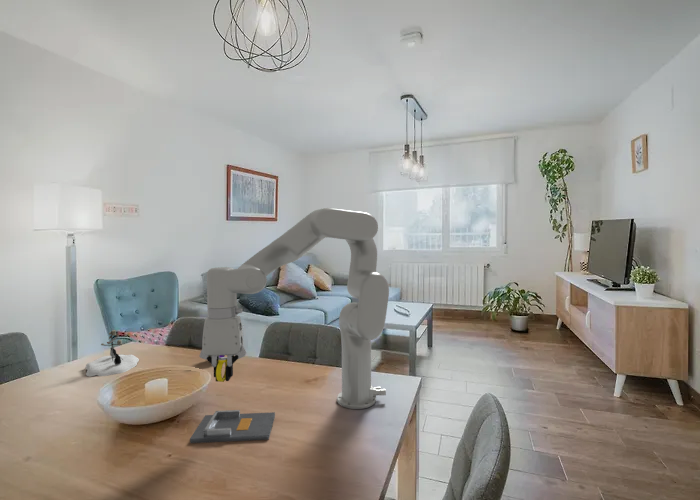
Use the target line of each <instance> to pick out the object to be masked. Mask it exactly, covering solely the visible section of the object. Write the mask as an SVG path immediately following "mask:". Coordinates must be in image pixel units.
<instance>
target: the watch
mask: <svg viewBox="0 0 700 500" xmlns="http://www.w3.org/2000/svg"><path fill="white" fill-rule="evenodd" d="M218 362H219V363H218V365H217V369H216V377H215V379H216V378H217V380H218V381H217V382H218V383H220V382H222V383H224V382H226V375H225V373H224V374H223V377H222V376H221V374H222V370H223V366H224V367H226V366H227V356H224V357H221V358H218Z"/></svg>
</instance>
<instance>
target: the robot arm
mask: <svg viewBox="0 0 700 500" xmlns="http://www.w3.org/2000/svg"><path fill="white" fill-rule="evenodd" d="M378 229H379V224H378V221H377V219H376V218H375V217H374V216H373V215H372V214H371V213H368V212H363V211H355V210H348V209H347V210H346V209H340V208H339V209H338V208H334V207H333V208H332V207H326V208H320V209H316V210H314V211H311V212H310V213H308V214H307V215H306V216H304V217H303V218H302V219H301V220H299V222H297V223H296V224H294V225H293V226H292V227H291V228H290V229H288V230H287V231H286V232H284V233H283V234H281V235H280V236H279V237H277V238H276V239H275V240H273V241H272V242H271V243H269V244H268V245H266V246H265V247H264V248H261V249H260V250H259V251H258V252H256V253H255V254H254V255H253V256H251V257H249V258H248V259H247V260H246V261H244V263H242V264H241V265H240V266H238V267H237V268H233V267H227V266H224V267H223V266H220V267H212V268H209V269H208V270H207V272H206V293H207V294H206V297H207V302H206V304H207V308H206V309H207V317H206V318H205V319H204V325H203V330H202V342H201V343H202V345H201V351H200V353H199V357H198V358H200V359H204V360H205V361H207V362H208V363H210V365H211V367H212V368H213V378H215V382H218V380H217V378H216V369H217V365H218V363H219V362H218V358H219V355H225V356H226V357H227V366H226V367H225V366H224V367H225V368H224V374H225V375H226V380H225V382H229V381H230V380H231V378H232V377H233V375H234V364H235V362H237V361H238V360H239V359H242V358H244V357H245V356H246V355H247V352H246V349H245V347H244V333H243V332H244V331H243V324H242V319H241V316H240V315H238V314H242V313H243V308H242V307H239V306H238V304H237V302H238V301H237V298H238V296H237V294H247V295H255V294H258V293H260V292H262V291H263V290H264V289H265V287H266V285H267V283H268V282H267V276H269V275H270V274H271V273H273V272H274V271H276V270H277V269H278V268H280V267H283V266H285V265H288V264H292V263H293V262H296V261H298V260H300V259H301V258H302V257H303V256H304V255H306V254H307V253H308V252H309V251H310V250H312V248H314V247H315V246H316V245H318V244H319V243H320V242H321V241H323V239H326V238H331V239H339V240H345V241H346V243H347V244H348V246H349V249H350V262H349V263H350V265H349V271H348V275H347V276H348V278H347V286H346V288H347V292H348V294H349V295H350V296H351V297H353V298H355V299H357V300H358V302H349V303H347V304H345V305H344V306H343V307H342V308H341V310H340V312H339V317H338V324H339V331H340V339H341V391H340V392H339V393H338V394H337V397H336V402H337V403H338V405H340V406H341V407H343V408H346V409H351V410H363V409H366V408H369V407H372V406H373V405H375V403H376V401H377V396H386V395H387V394H386V393H387V391H386V388H382V387H381V386H373V385H372V341H373V340H375V339H378V337H380V336H381V335H382V332H383V330H384V328H385V324H386V318H387V311H388V304H389V298H390V297H389V294H390V289H389V284H388V281H387V279H386V278H385V276H384V275H382V274H381V273H379V272H377V265H378V263H377V262H378V248H377V245H376V244H377V243H376V242H375V240H374V238H375V236H376V235H377V233H378V231H379V230H378ZM221 376H222V373H221Z"/></svg>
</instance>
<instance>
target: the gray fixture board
mask: <svg viewBox="0 0 700 500" xmlns="http://www.w3.org/2000/svg"><path fill="white" fill-rule="evenodd" d="M275 418H276V412H275V411H274V412H272V411H271V412H253V413H252V412H251V413H248V412H247V413H241V410H240V409H233V410H227V409H226V410H215V411H214V413H213V414H205V415H204V417H203V418H202V420H201V422H200V423H199V424H198V425H197V427H196V429H195V430H194V431H193V433H192V435H191V437H190V438H189V443H190V444H203V443H205V444H207V443H222V442H223V443H225V442H228V443H229V442H245V441H264V440H265V441H268V440H270V436H271V433H272V429H273V425H274V421H275Z"/></svg>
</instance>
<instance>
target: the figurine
mask: <svg viewBox="0 0 700 500" xmlns="http://www.w3.org/2000/svg"><path fill="white" fill-rule="evenodd" d="M108 335H109V337H108V341H106V343H107V344H104V343H101V344H100V346H104V347H110V348H109V349H110V352H109V355H103V356H101V357H98V358H97V359H95V360H93V361H90V362H88V363H86V364H85V369H86V370H87V371H86V373H85V375H86V377H94V376H98V377H106V376H112V375H118V374H123V373H126V372H127V371H129V370H132V369H133V368H134V367H137V365H138V363H139V360H140V359H139V358H138V357H137V356H135V355H133V354H118V353H117V350H116V349H115V347H114V346H123V340H122V339H118V340H117V341H115V340H116V339H117V338H119V337H120V335H119V334H117V331H116V329H113V330H111V331H109V332H108ZM114 336H115V337H114ZM113 337H114V338H113ZM113 342H114V343H113Z"/></svg>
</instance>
